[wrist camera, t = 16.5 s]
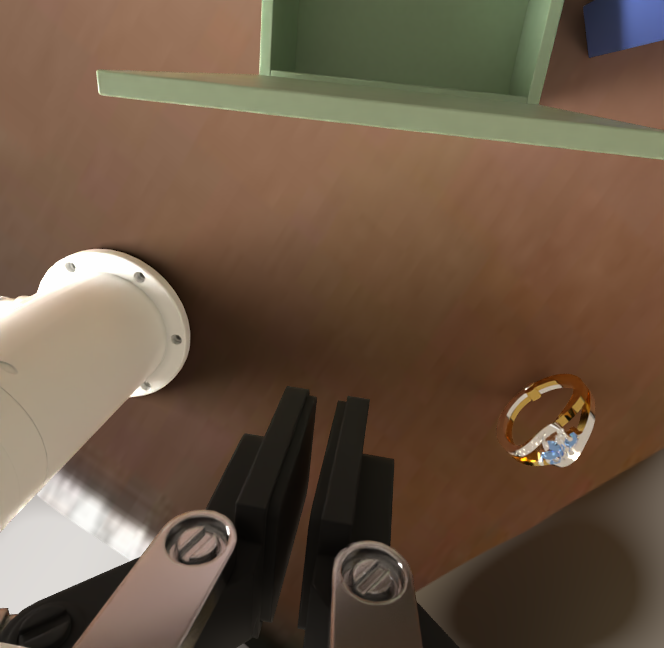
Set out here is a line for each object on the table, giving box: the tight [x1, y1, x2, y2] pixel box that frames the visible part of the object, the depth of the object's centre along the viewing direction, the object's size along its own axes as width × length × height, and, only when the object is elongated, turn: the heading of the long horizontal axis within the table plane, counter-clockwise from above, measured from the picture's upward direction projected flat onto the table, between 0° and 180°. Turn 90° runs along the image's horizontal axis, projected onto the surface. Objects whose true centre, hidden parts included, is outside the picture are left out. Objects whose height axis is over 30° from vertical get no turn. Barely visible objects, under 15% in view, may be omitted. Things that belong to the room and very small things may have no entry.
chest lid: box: [97, 70, 664, 160], centre depth 19 cm, size 15×14×1 cm
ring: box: [496, 374, 596, 467], centre depth 35 cm, size 7×3×8 cm, turn 131°
